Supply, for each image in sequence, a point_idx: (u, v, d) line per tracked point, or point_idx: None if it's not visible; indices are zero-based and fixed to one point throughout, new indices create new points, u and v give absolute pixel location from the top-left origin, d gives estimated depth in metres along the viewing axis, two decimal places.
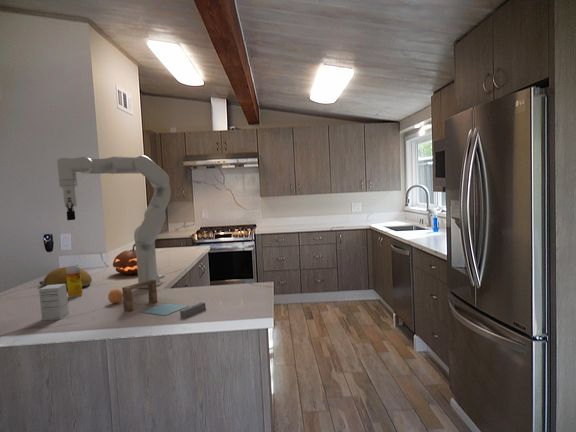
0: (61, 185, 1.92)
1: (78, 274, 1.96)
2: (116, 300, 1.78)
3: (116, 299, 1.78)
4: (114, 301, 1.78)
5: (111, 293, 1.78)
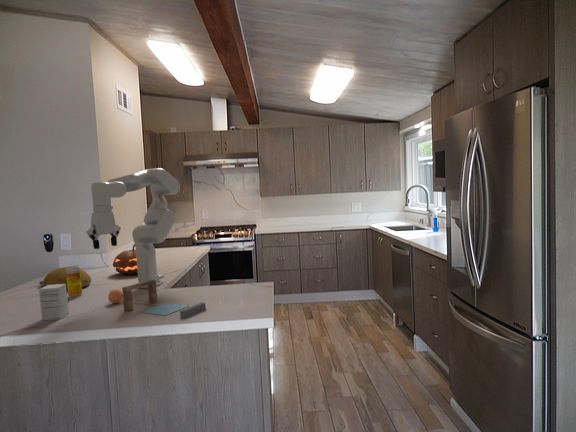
0: (111, 210, 1.87)
1: (78, 274, 1.96)
2: (116, 300, 1.78)
3: (116, 299, 1.78)
4: (114, 301, 1.78)
5: (111, 293, 1.78)
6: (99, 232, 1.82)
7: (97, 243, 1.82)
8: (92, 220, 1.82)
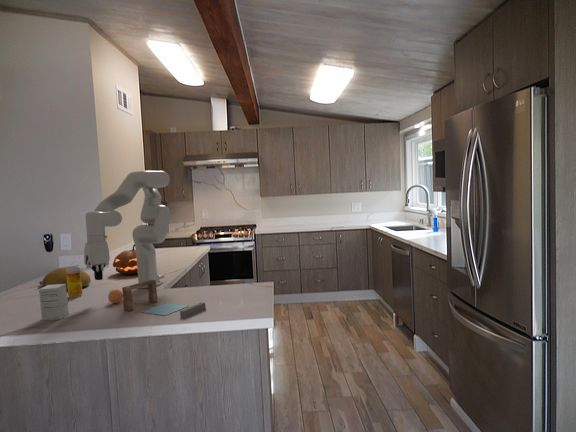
0: (105, 240, 1.84)
1: (78, 274, 1.96)
2: (116, 300, 1.78)
3: (116, 299, 1.78)
4: (114, 301, 1.78)
5: (111, 293, 1.78)
6: (92, 263, 1.79)
7: (98, 274, 1.82)
8: (85, 250, 1.79)
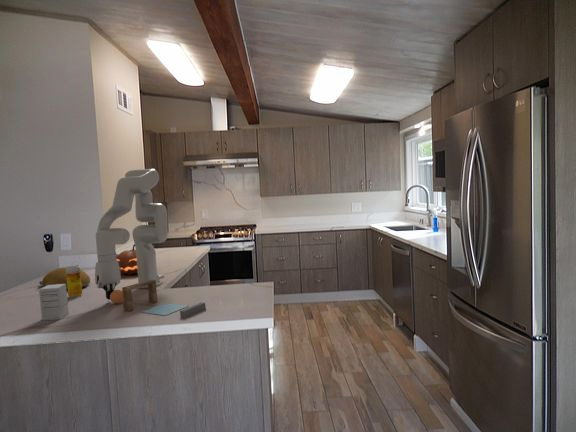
0: (115, 259, 1.81)
1: (78, 274, 1.96)
2: (118, 301, 1.78)
3: (118, 300, 1.77)
4: (115, 302, 1.78)
5: (113, 294, 1.77)
6: (103, 282, 1.77)
7: (110, 294, 1.80)
8: (96, 270, 1.77)
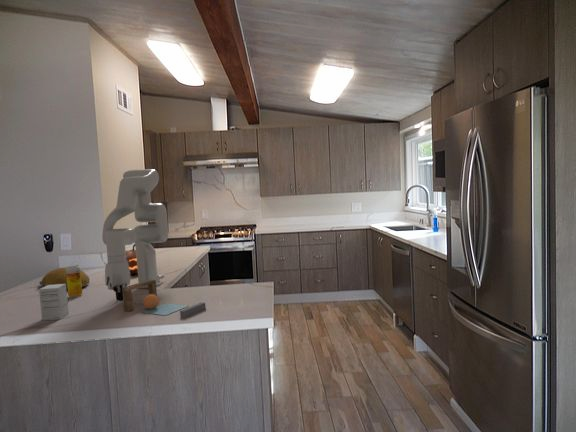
0: None
1: (78, 274, 1.96)
2: (148, 308, 1.67)
3: None
4: (146, 307, 1.67)
5: (149, 303, 1.65)
6: (114, 284, 1.74)
7: (120, 295, 1.77)
8: (106, 271, 1.74)
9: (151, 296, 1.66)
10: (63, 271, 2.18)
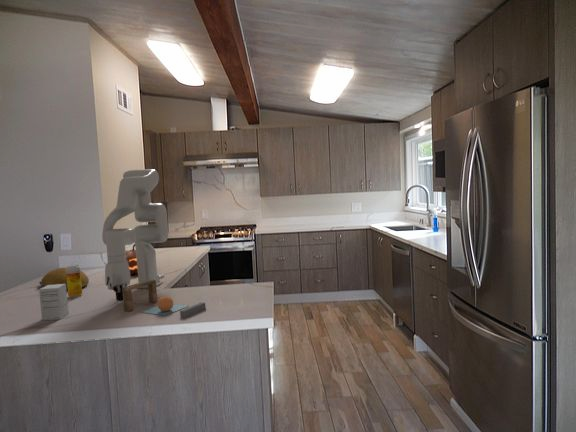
0: None
1: (78, 274, 1.96)
2: (162, 298, 1.62)
3: (161, 298, 1.62)
4: (162, 299, 1.61)
5: (158, 306, 1.62)
6: (114, 284, 1.74)
7: (120, 295, 1.77)
8: (106, 271, 1.74)
9: None
10: (62, 271, 2.18)
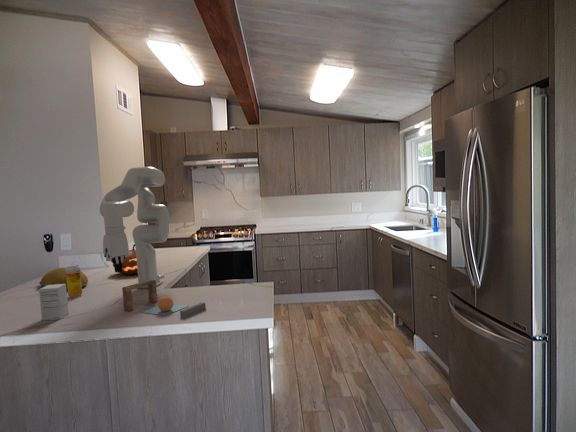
0: (123, 231, 1.78)
1: (78, 274, 1.96)
2: (162, 298, 1.62)
3: (161, 298, 1.62)
4: (162, 299, 1.61)
5: (158, 306, 1.62)
6: (112, 255, 1.74)
7: (118, 267, 1.78)
8: (104, 243, 1.74)
9: None
10: (61, 271, 2.17)
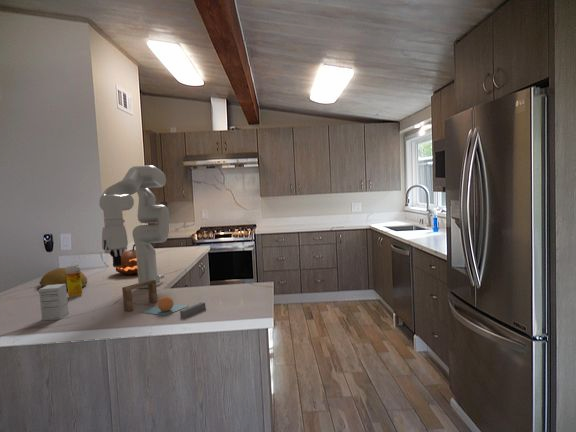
0: None
1: (78, 274, 1.96)
2: (162, 298, 1.62)
3: (161, 298, 1.62)
4: (162, 299, 1.61)
5: (158, 306, 1.62)
6: (111, 247, 1.73)
7: (117, 260, 1.76)
8: (103, 235, 1.73)
9: None
10: (61, 271, 2.17)
